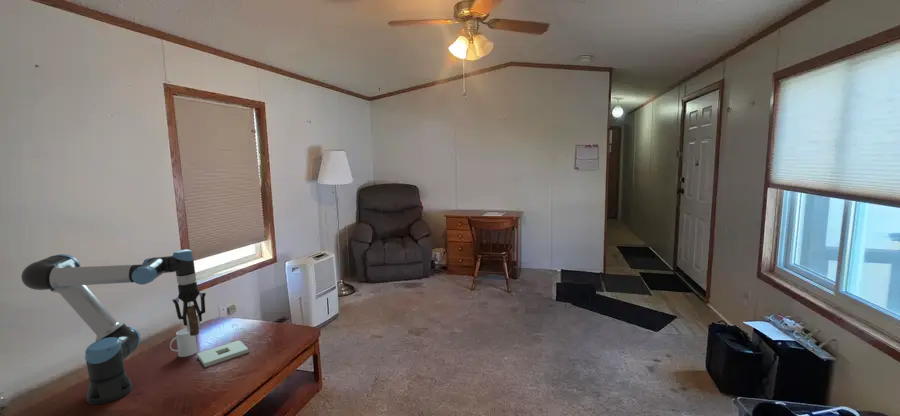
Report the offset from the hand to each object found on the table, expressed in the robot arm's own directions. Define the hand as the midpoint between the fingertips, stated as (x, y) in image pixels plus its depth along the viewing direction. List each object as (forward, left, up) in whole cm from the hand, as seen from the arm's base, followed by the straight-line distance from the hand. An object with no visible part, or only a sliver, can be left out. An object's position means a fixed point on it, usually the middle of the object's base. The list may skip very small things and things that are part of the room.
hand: (194, 329), depth 194 cm
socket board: (+12, +5, -19) cm, 23 cm away
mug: (-2, +21, -19) cm, 28 cm away
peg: (0, 0, -2) cm, 2 cm away
